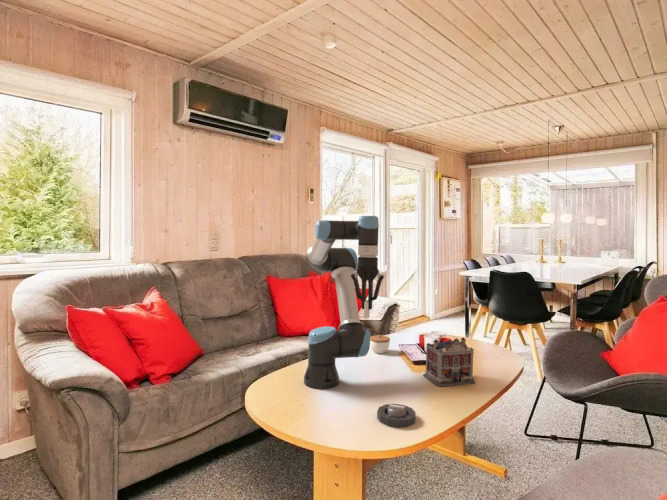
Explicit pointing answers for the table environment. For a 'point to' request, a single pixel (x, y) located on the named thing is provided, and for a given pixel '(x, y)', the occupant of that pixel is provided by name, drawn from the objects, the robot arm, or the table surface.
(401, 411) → the cap
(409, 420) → the faceted gray torus
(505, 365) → the table surface
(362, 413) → the table surface
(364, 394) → the table surface
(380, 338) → the lidded jar
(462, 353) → the model building
